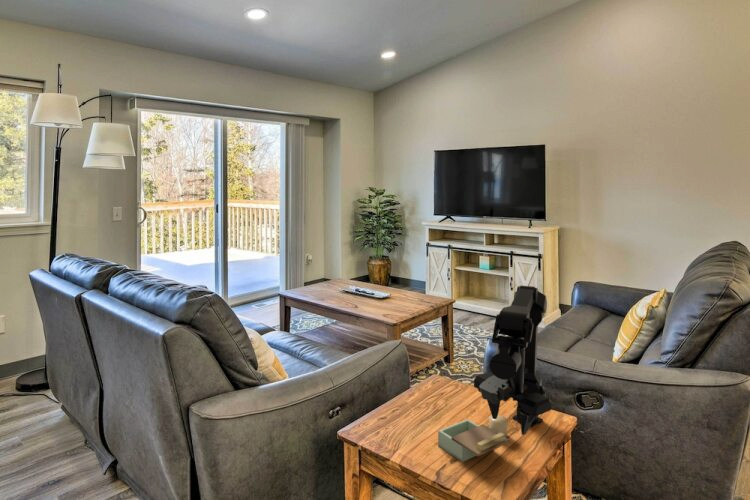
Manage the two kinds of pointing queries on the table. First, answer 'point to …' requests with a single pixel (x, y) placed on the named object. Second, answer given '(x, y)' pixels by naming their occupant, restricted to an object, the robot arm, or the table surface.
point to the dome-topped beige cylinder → (498, 424)
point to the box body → (452, 446)
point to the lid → (480, 439)
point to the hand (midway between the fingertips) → (508, 426)
